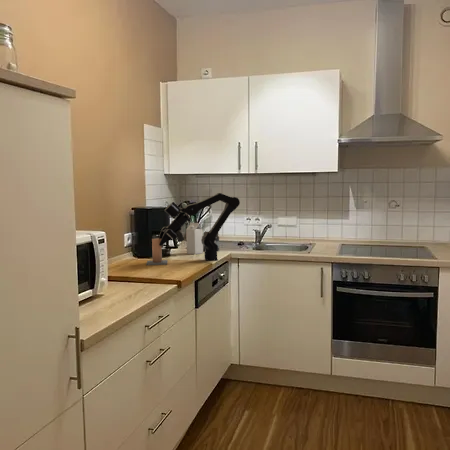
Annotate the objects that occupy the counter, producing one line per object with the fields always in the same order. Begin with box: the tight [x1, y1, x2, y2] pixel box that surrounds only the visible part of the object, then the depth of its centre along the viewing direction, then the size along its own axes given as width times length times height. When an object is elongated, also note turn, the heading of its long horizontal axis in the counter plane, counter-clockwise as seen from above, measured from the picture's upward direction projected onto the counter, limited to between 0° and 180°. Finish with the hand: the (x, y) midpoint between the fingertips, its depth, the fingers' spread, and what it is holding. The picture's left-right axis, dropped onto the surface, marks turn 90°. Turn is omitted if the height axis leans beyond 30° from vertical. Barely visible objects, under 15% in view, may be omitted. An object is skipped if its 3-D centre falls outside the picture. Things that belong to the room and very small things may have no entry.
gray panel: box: [145, 259, 168, 266], centre depth 254 cm, size 11×11×1 cm
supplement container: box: [203, 231, 220, 252], centre depth 300 cm, size 10×10×12 cm
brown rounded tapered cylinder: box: [151, 237, 163, 263], centre depth 254 cm, size 5×5×12 cm
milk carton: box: [185, 222, 204, 255], centre depth 288 cm, size 7×7×19 cm
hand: (158, 244), depth 254 cm, fingers open, 9 cm apart
